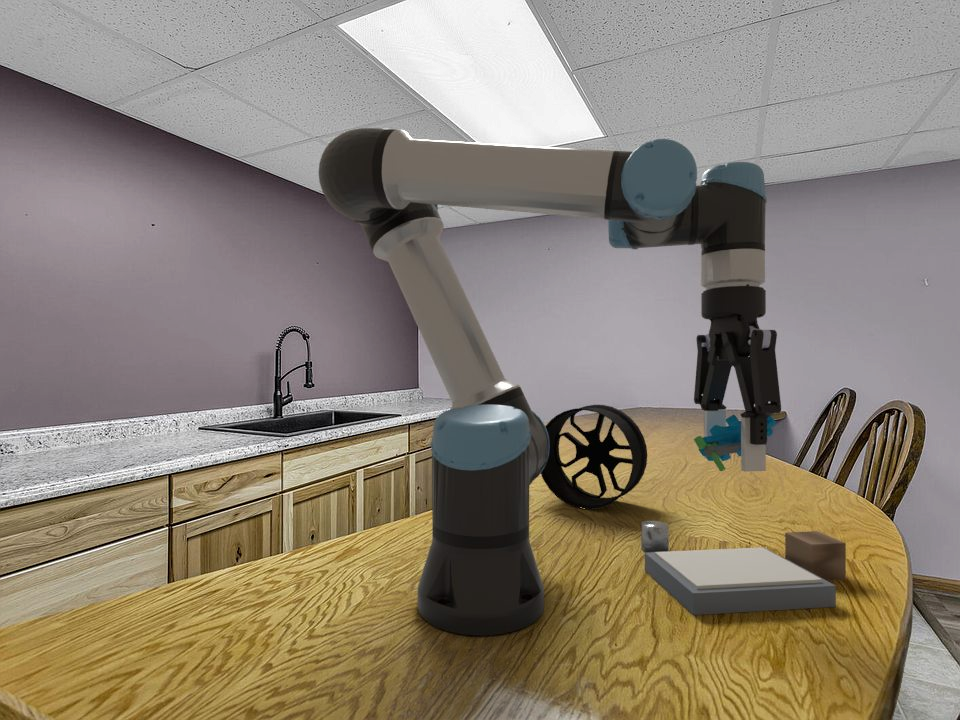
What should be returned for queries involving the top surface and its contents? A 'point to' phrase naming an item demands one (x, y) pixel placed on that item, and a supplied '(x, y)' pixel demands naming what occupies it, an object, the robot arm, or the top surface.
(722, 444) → the gear
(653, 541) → the steel cylinder
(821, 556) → the walnut block
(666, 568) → the stand
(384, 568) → the top surface
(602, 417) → the car wheel rim
